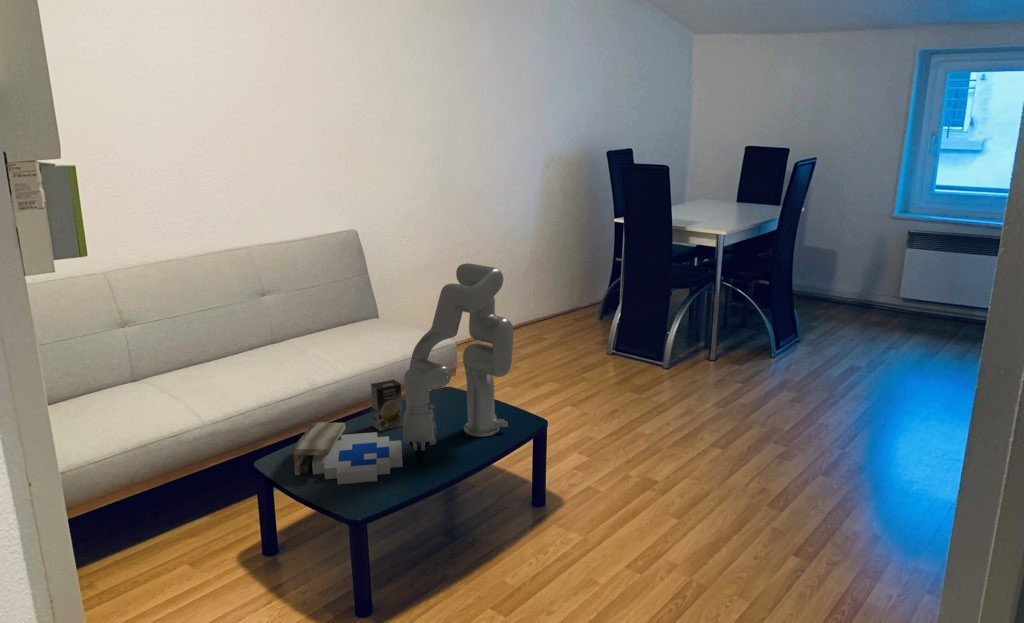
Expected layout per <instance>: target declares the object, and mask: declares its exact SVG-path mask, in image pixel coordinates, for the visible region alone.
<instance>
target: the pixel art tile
mask: <svg viewBox="0 0 1024 623" xmlns="http://www.w3.org/2000/svg"><path fill="white" fill-rule="evenodd" d="M402 446H403V445H402V439H401V440H390V436H378V432H377V431H376V432H375V431H374V432H362V433H351V434H350V433H349V434H341V436H340V439H338V440H337V442H336V443H335V445H334V446H333V448H332V449H331V451H330V452H329V454H328V455H314V456H313V457H312V467H311V468H312V474H313V475H321V474H322V473H323V474H324V479H325V480H330V479H336V480H337V485H343V484H344V485H345V484H347V485H348V484H354V483H355V484H357V483H367V482H369V483H370V482H378V475H380V476H381V475H388V474H391V469H393V468H403V466H404V464H403V450H402V448H403V447H402Z"/></svg>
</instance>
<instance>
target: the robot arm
mask: <svg viewBox="0 0 1024 623" xmlns="http://www.w3.org/2000/svg"><path fill="white" fill-rule="evenodd" d="M455 275H456V280H457V282H458V283H448V284H445V285H444V286H443V287H442V288H441V291H440V293H439V297H438V301H437V305H436V309H435V314H434V317H433V321H432V324H431V327H430V329H429V330H428V331H427V332H426V333H424V335H423V336H422V337H421V338H420V339H419V340H418V342H417V343H416V345H415V347H414V348H413V351H412V355H411V358H410V362H409V369H408V370H407V371H405V372H404V376H403V378H404V380H403V382H404V395H405V396H404V398H405V410H404V412H403V417H402V421H403V426H402V443H403V444H405V445H410V447H412V448H413V451H415V452H414V453H415V455H414V456H415V459H417V460H416V461H417V463H418V462H419V463H420V462H421V463H423V461H424V459H426V457H427V456H426V455H427V454H426V453H427V452H426V449H427V448H428V447H429V446H433V445H436V444H437V437H436V436H437V428H436V419H435V415H434V411H433V409H435V404H434V403H432V402H431V400H430V391H432V390H436V389H440V388H441V389H442V388H444V387H446V386H447V385H448V384H449V383H450V381H451V379H452V371H451V369H450V368H449V367H448V366H446V365H444V364H441V363H437V362H434V361H430V360H429V356H430V354H431V352H432V350H433V348H435V346H436V345H437V344H438V345H439V343H440V342H443V341H445V340H446V341H447V340H448V339H452V338H454V337H456V336H457V335H458V332H459V328H460V323H461V320H462V317H463V313H468V314H469V318H468V332H469V335H470V337H471V338H472V339H473V340H476V341H478V342H479V341H480V342H483V343H488V344H491V345H488V344H483V343H471V344H469V345H467V346H466V347H465V349H464V350H463V353H462V363H463V366H464V371H465V378H466V379H465V380H466V402H467V423H465V424H464V426H463V431H464V432H465V434H467V435H469V436H471V437H475V438H476V437H478V438H479V437H480V438H484V437H490V436H493V435H496V434H497V433H498V432H500V427H502V428H508V421H505V419H503V418H500V419H499V418H497V414H496V413H495V411H496V410H495V406H496V405H495V381H494V377H498V378H499V377H500V378H501V377H502V378H503V377H505V376H506V375H508V373H509V372H510V370H511V367H512V362H513V347H514V327H513V323H512V322H511V321H510V319H508V318H506V317H504V316H499V315H496V304H495V303H496V301H495V300H496V299H495V296H496V295H497V294H498V293H499V291H500V290H501V288H502V287H503V284H504V274H503V272H502V271H501V270H500V269H499V268H496V267H493V266H487V265H482V264H476V263H468V262H467V263H462V264H460V265H458V267H457V269H456V272H455ZM420 443H421V445H420Z"/></svg>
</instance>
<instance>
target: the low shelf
mask: <svg viewBox="0 0 1024 623" xmlns="http://www.w3.org/2000/svg"><path fill="white" fill-rule="evenodd" d="M345 430H346V423H345V422H324V421H322V422H319V421H318V422H316V421H315V422H314V421H313V422H312V423H311V424H310V425H309V426H308V428H307V429H306V430H305V432H304V434H303V435H302V436H301V437H300V439H298V441H297V443H296V444H295V445H294V446H293V447H292V456H293V457H292V458H293V466H294V475H296V476H300V475H301V474H303V473H304V474H307V473H309V472H310V470H311V468H312V462H313V455H328V454H329V452H330V451H331V449H332V448H333V446H334V445H335V443H336V442H337V440H340V438H341V435H343V433H344V432H345Z"/></svg>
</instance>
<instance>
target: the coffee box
mask: <svg viewBox="0 0 1024 623" xmlns="http://www.w3.org/2000/svg"><path fill="white" fill-rule="evenodd" d="M370 390H371V410H372V425H373V427H374V428H375V429H377V431H379V432H382V431H387V430H390V429H391V430H392V429H396V428H399V427H403V405H402V404H403V402H402V384H401V383H400V382H399V381H397V380H395V379H390V380H384V381H380V382H379V381H378V382H374V383H373V382H372V383H370Z"/></svg>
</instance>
